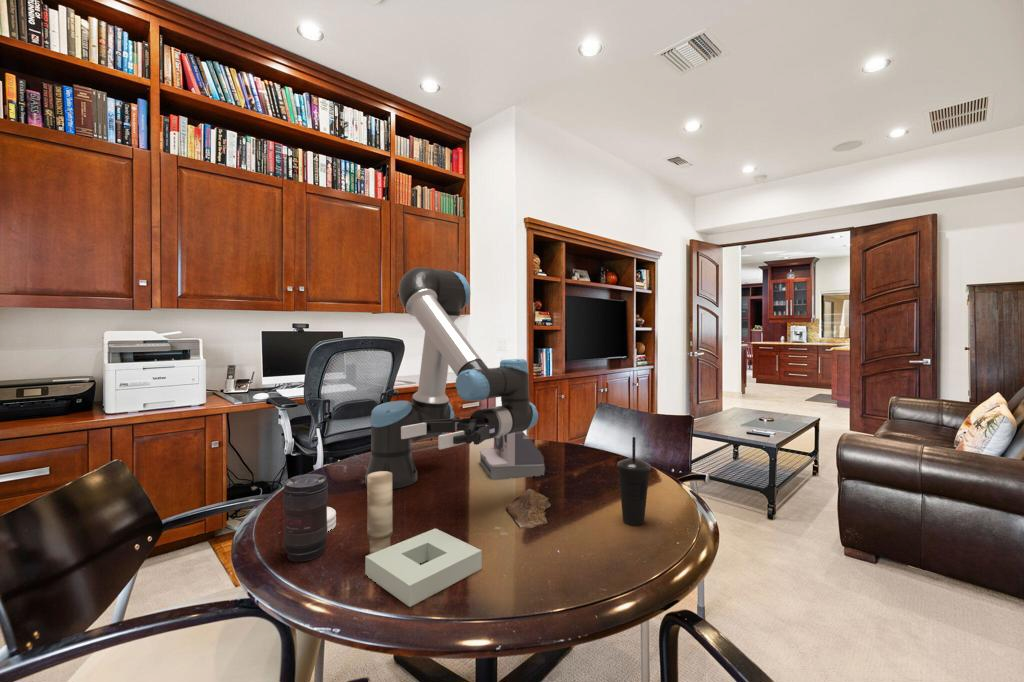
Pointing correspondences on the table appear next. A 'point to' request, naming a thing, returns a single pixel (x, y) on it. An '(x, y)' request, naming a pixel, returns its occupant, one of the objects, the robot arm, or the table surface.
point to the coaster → (331, 518)
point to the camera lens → (305, 516)
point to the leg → (379, 510)
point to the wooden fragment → (529, 509)
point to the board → (419, 582)
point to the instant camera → (512, 458)
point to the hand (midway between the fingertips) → (419, 437)
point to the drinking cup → (633, 488)
